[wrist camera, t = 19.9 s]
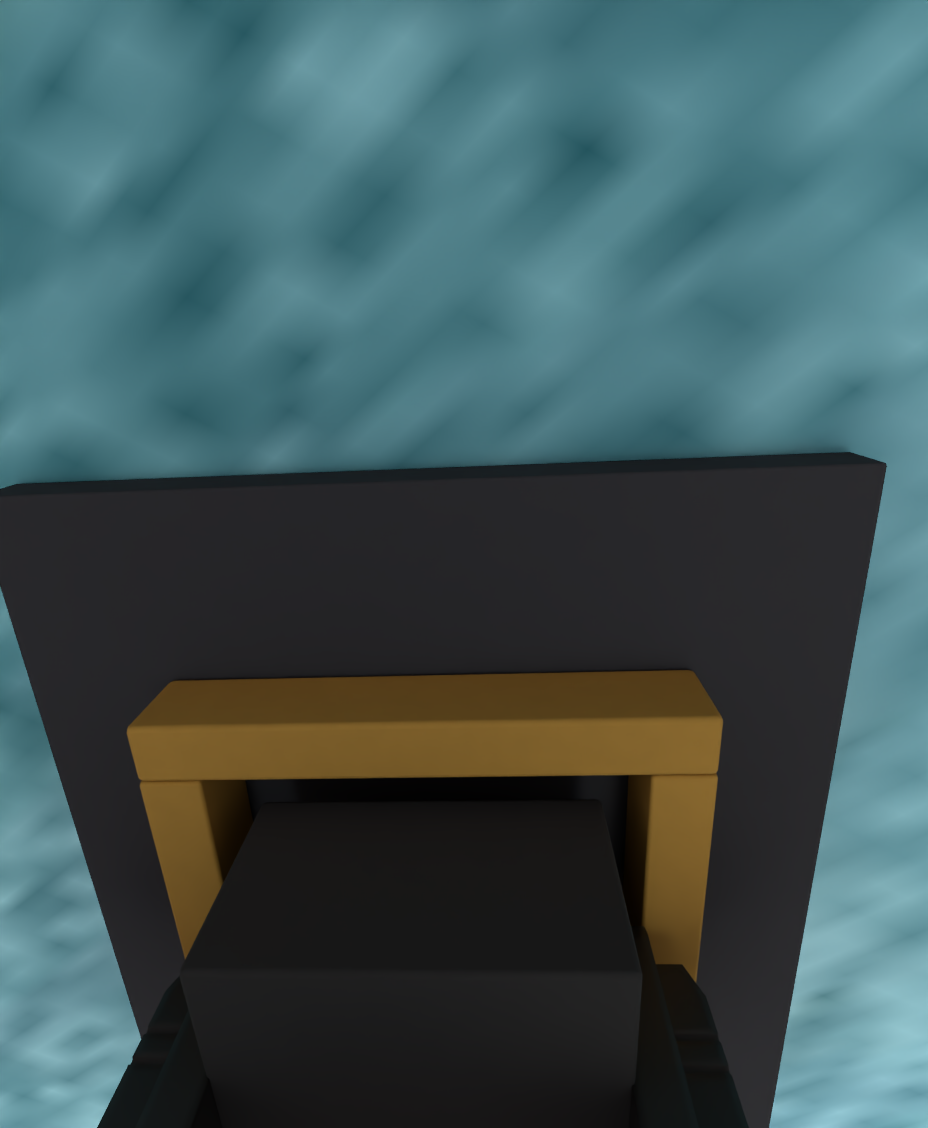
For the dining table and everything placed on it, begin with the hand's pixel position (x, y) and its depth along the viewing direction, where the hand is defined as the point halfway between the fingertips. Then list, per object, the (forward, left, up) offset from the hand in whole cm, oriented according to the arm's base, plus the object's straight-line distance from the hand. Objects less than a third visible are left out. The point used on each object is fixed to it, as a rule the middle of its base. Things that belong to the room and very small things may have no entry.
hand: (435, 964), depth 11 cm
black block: (0, 0, -1) cm, 1 cm away
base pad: (0, 0, -3) cm, 3 cm away
